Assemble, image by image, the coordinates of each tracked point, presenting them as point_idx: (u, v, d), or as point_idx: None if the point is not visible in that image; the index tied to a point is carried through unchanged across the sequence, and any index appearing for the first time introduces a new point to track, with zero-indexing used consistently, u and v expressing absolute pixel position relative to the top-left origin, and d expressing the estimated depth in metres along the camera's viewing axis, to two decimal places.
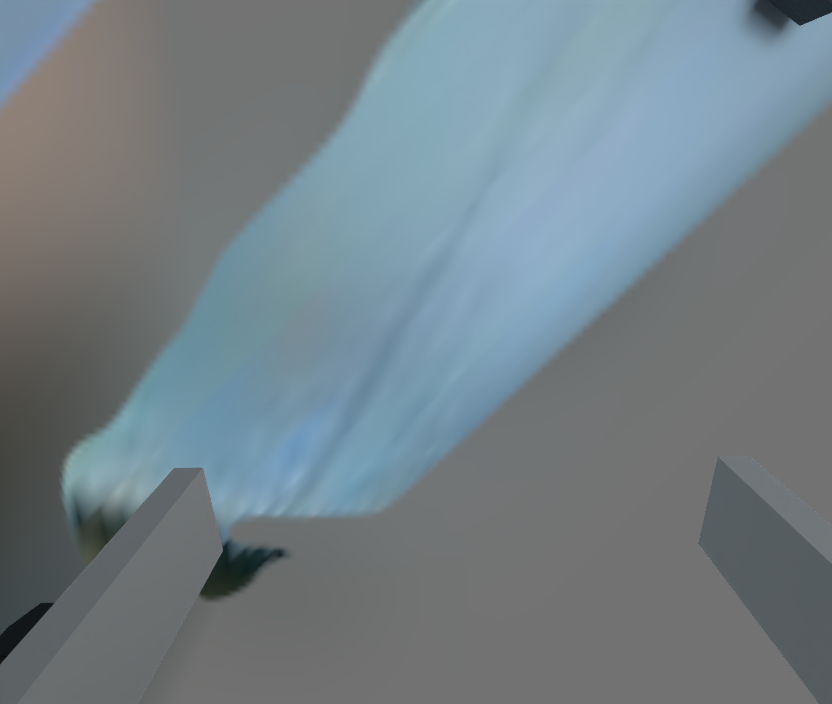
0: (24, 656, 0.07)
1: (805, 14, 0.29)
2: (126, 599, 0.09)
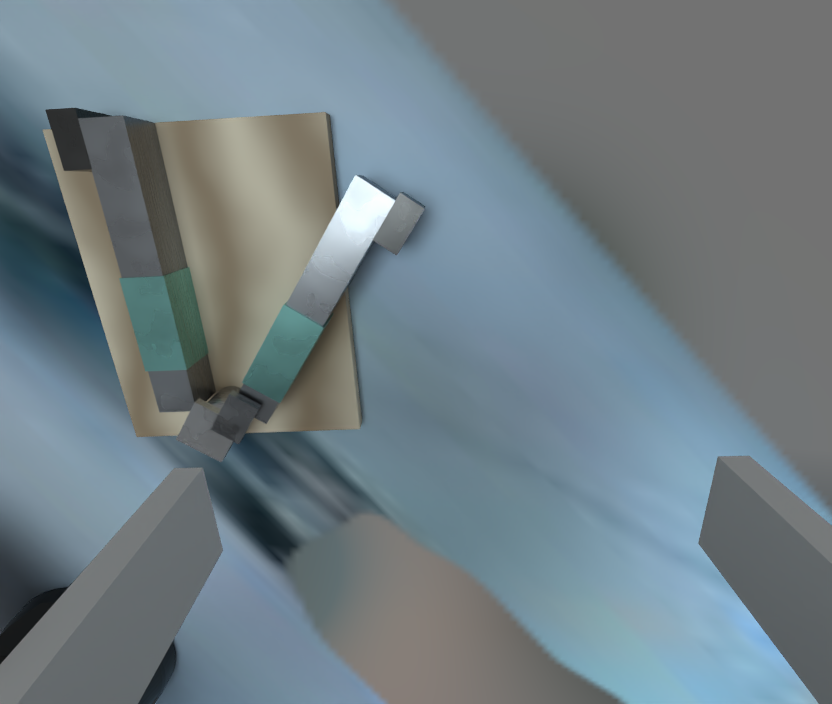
0: (24, 656, 0.07)
1: None
2: (126, 598, 0.09)
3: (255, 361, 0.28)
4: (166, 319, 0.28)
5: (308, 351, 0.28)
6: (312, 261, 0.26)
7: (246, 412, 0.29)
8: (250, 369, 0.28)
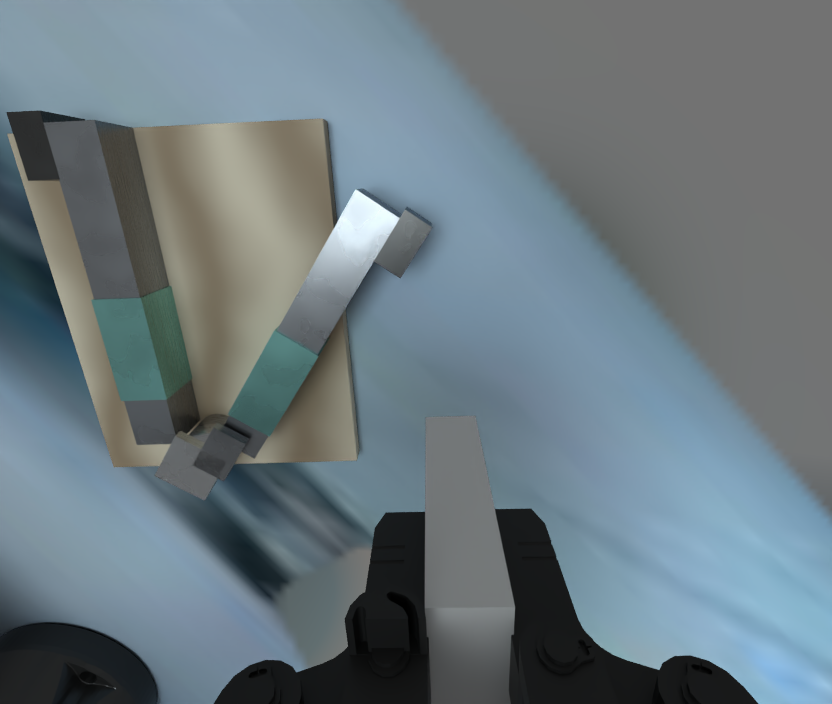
0: (439, 536, 0.09)
1: None
2: None
3: (242, 391, 0.25)
4: (144, 345, 0.25)
5: (301, 381, 0.25)
6: (306, 283, 0.23)
7: (232, 447, 0.26)
8: (237, 400, 0.26)
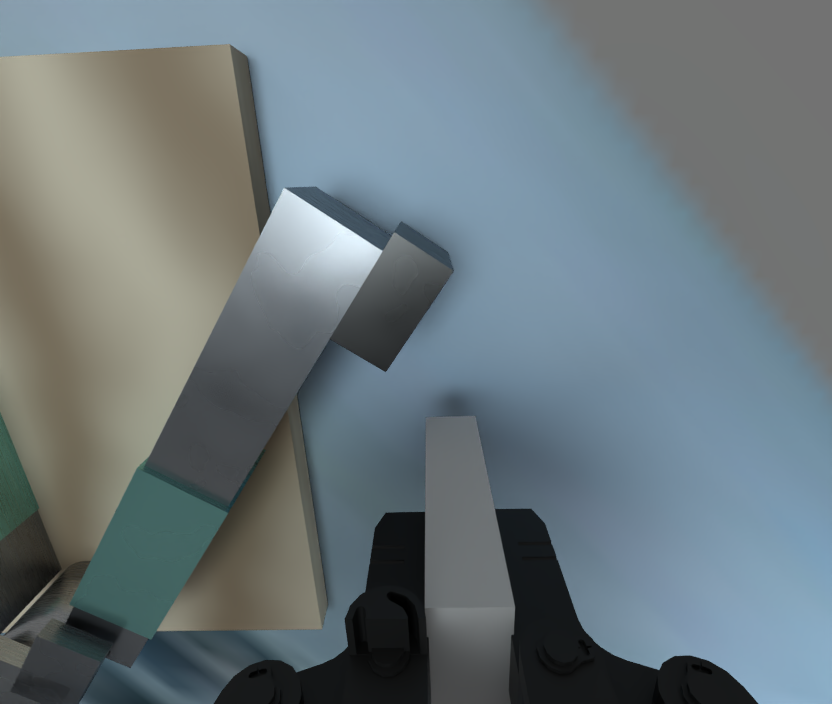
0: (439, 536, 0.09)
1: None
2: None
3: (91, 569, 0.13)
4: None
5: (199, 554, 0.13)
6: (194, 381, 0.11)
7: (77, 666, 0.14)
8: (83, 583, 0.14)
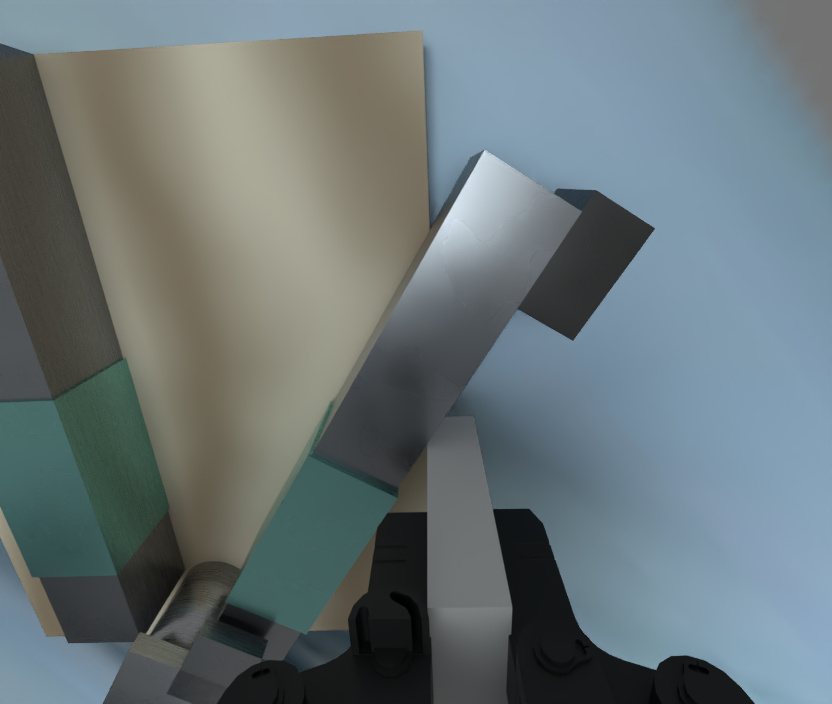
0: (441, 536, 0.09)
1: None
2: None
3: (251, 564, 0.13)
4: (67, 485, 0.13)
5: (364, 543, 0.13)
6: (372, 361, 0.11)
7: (237, 664, 0.14)
8: (241, 578, 0.13)
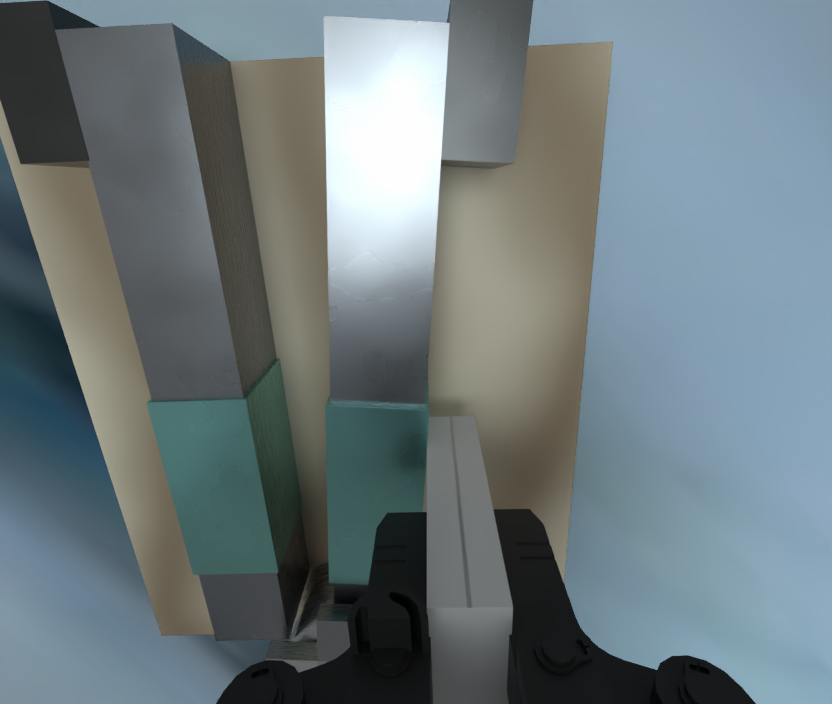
0: (440, 536, 0.09)
1: None
2: None
3: (332, 536, 0.13)
4: (245, 483, 0.13)
5: (422, 471, 0.12)
6: (335, 284, 0.11)
7: None
8: (331, 554, 0.13)
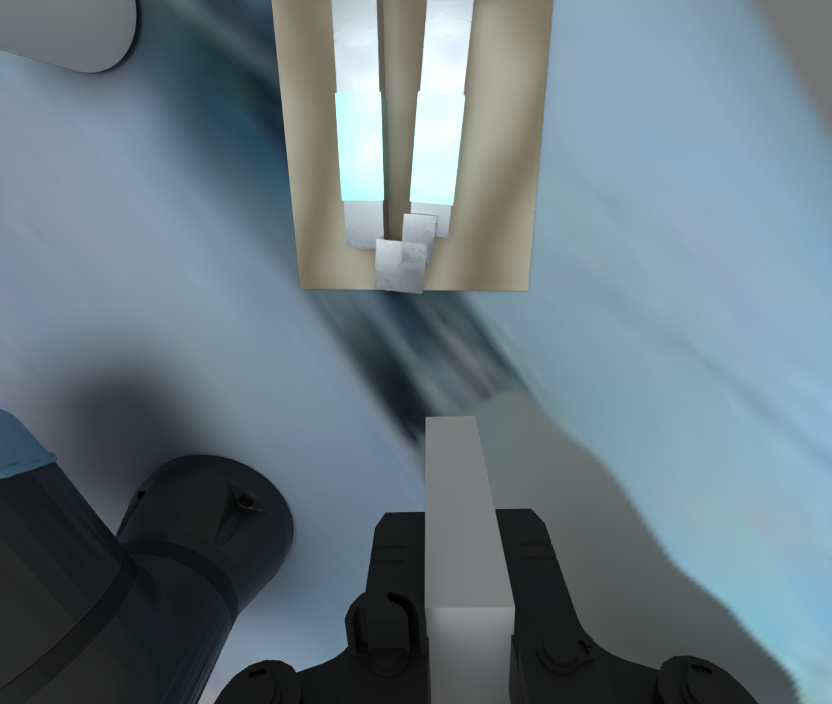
0: (439, 537, 0.09)
1: None
2: None
3: (414, 170, 0.27)
4: (374, 142, 0.27)
5: (459, 131, 0.27)
6: (428, 28, 0.25)
7: (426, 225, 0.28)
8: (412, 182, 0.28)
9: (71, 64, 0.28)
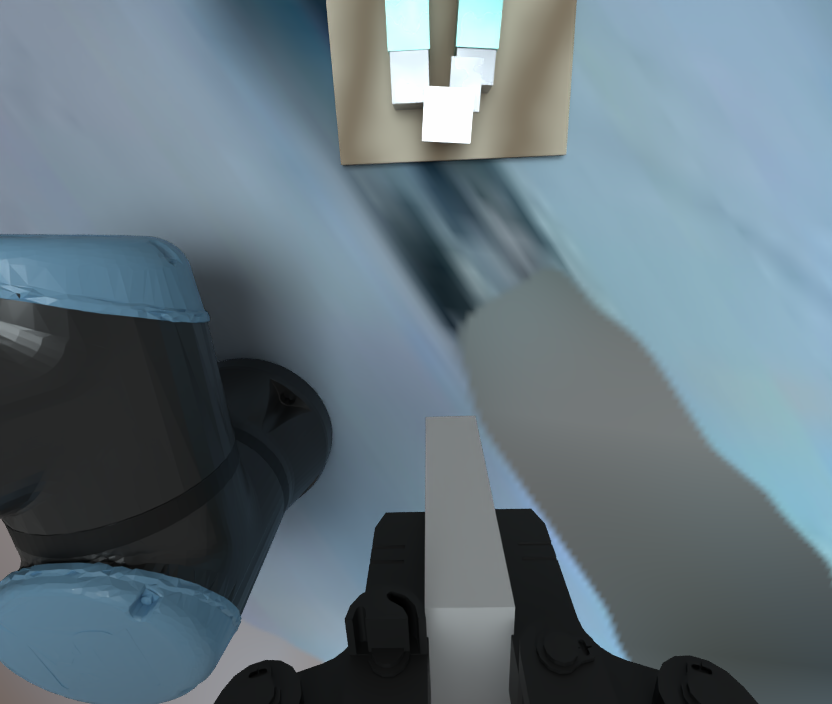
0: (438, 537, 0.09)
1: None
2: None
3: (460, 12, 0.28)
4: None
5: None
6: None
7: (474, 68, 0.28)
8: (458, 25, 0.28)
9: None
